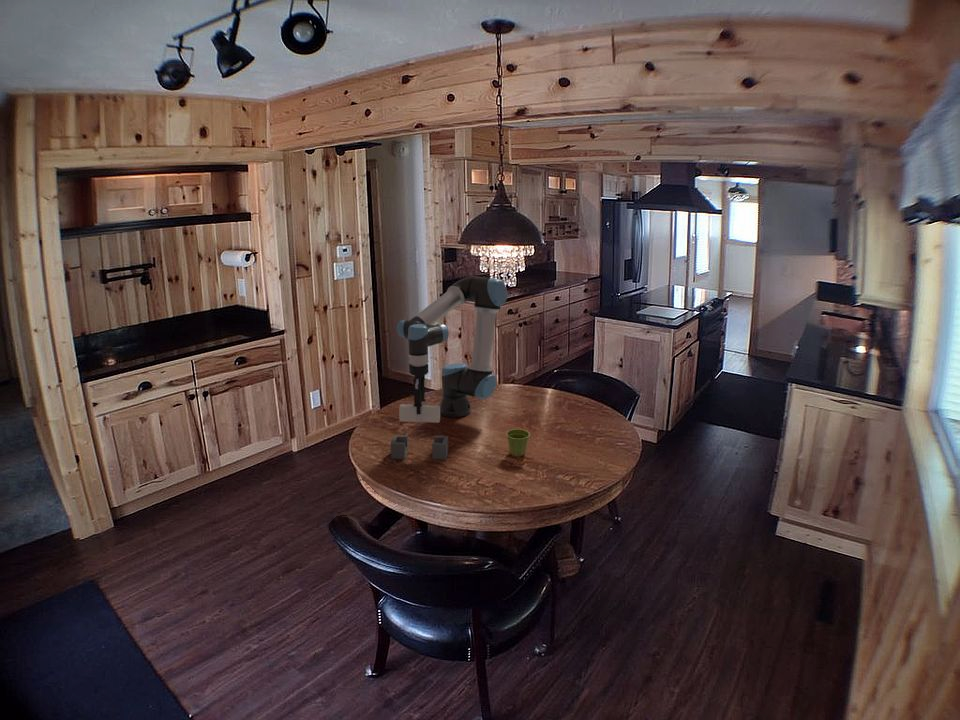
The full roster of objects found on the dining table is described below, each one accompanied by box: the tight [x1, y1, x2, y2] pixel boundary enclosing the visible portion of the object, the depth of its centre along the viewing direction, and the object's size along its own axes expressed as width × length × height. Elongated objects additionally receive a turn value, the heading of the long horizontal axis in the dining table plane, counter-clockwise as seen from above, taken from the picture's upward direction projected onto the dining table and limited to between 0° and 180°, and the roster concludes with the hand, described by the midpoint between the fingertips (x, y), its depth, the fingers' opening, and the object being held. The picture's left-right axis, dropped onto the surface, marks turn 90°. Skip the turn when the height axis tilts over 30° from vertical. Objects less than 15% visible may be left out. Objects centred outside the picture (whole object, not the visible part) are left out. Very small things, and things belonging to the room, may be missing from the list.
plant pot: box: [505, 428, 531, 457], centre depth 238 cm, size 9×9×9 cm
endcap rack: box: [390, 434, 449, 460], centre depth 238 cm, size 22×8×6 cm, turn 87°
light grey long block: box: [398, 403, 441, 424], centre depth 240 cm, size 16×4×6 cm, turn 87°
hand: (420, 418), depth 240 cm, fingers closed on light grey long block, 3 cm apart
